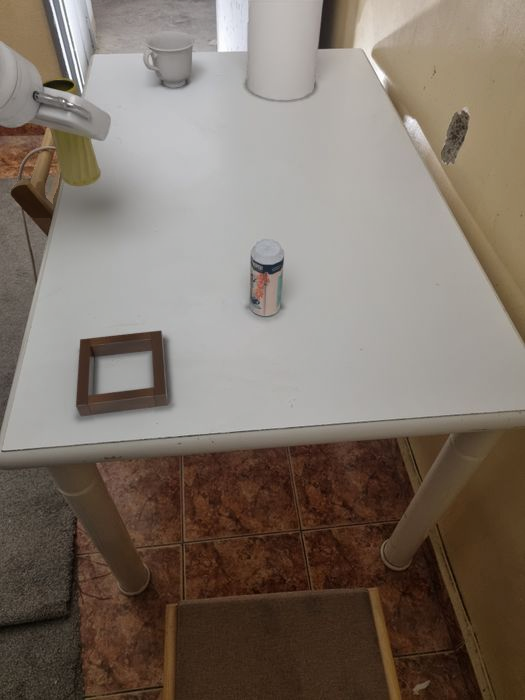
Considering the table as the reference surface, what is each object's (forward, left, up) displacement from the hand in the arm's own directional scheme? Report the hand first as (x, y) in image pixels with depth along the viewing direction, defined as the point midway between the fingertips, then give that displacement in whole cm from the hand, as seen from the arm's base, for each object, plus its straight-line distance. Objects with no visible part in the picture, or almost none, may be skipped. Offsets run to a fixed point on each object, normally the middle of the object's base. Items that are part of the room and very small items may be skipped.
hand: (71, 128), depth 78 cm
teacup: (+16, +58, -19) cm, 63 cm away
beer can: (+26, -23, -19) cm, 40 cm away
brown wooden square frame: (+4, -34, -19) cm, 39 cm away
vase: (0, -1, -8) cm, 8 cm away
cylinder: (+44, +55, -19) cm, 73 cm away
